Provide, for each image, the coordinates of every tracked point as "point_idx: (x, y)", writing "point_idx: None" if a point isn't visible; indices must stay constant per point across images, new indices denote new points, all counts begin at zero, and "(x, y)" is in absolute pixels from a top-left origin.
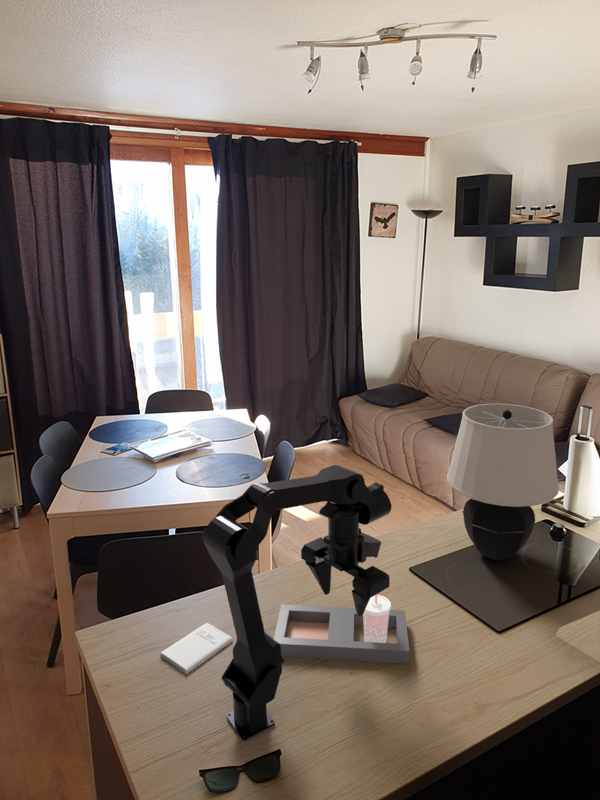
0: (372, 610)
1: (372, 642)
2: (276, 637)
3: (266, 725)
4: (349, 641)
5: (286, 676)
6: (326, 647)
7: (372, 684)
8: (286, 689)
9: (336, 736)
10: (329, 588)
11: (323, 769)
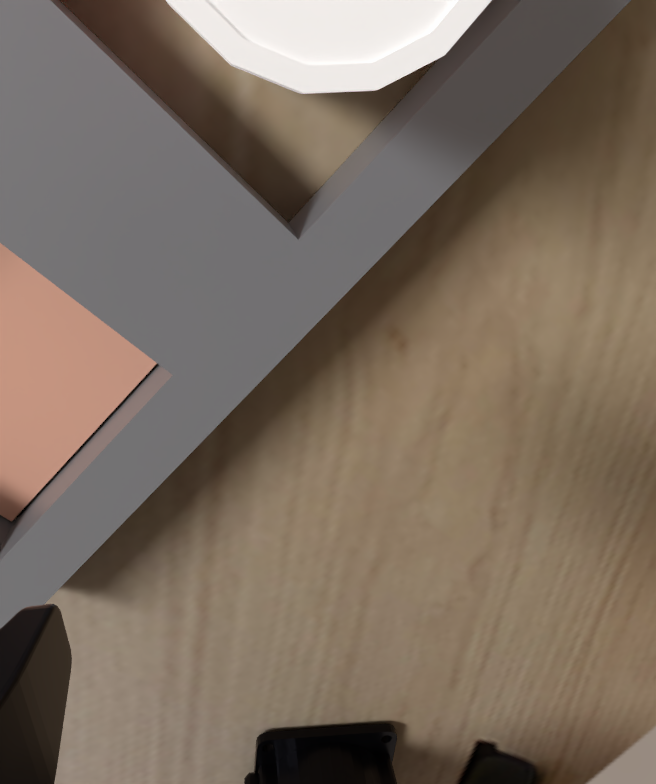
0: (397, 30)
1: (404, 133)
2: None
3: (390, 760)
4: (283, 266)
5: (205, 594)
6: (223, 416)
7: (530, 306)
8: (274, 626)
9: (586, 591)
10: (35, 670)
11: (630, 678)
